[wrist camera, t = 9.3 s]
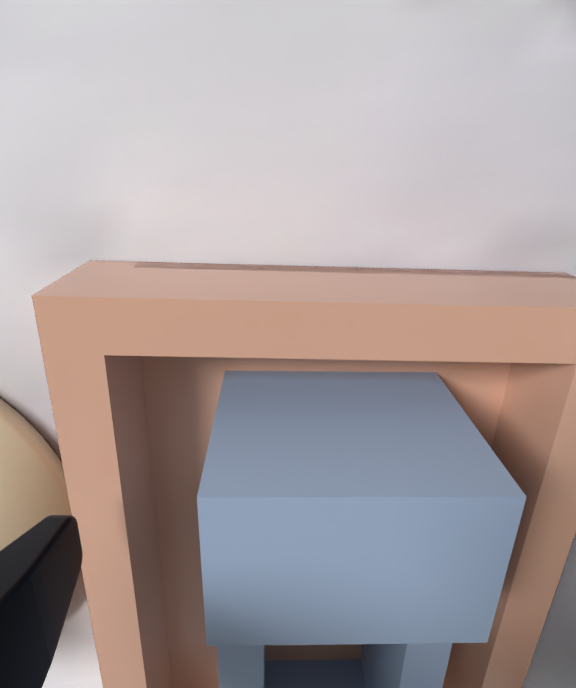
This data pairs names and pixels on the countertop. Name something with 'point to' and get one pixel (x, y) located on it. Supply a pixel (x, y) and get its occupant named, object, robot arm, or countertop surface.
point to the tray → (290, 355)
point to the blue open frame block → (349, 527)
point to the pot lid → (27, 477)
